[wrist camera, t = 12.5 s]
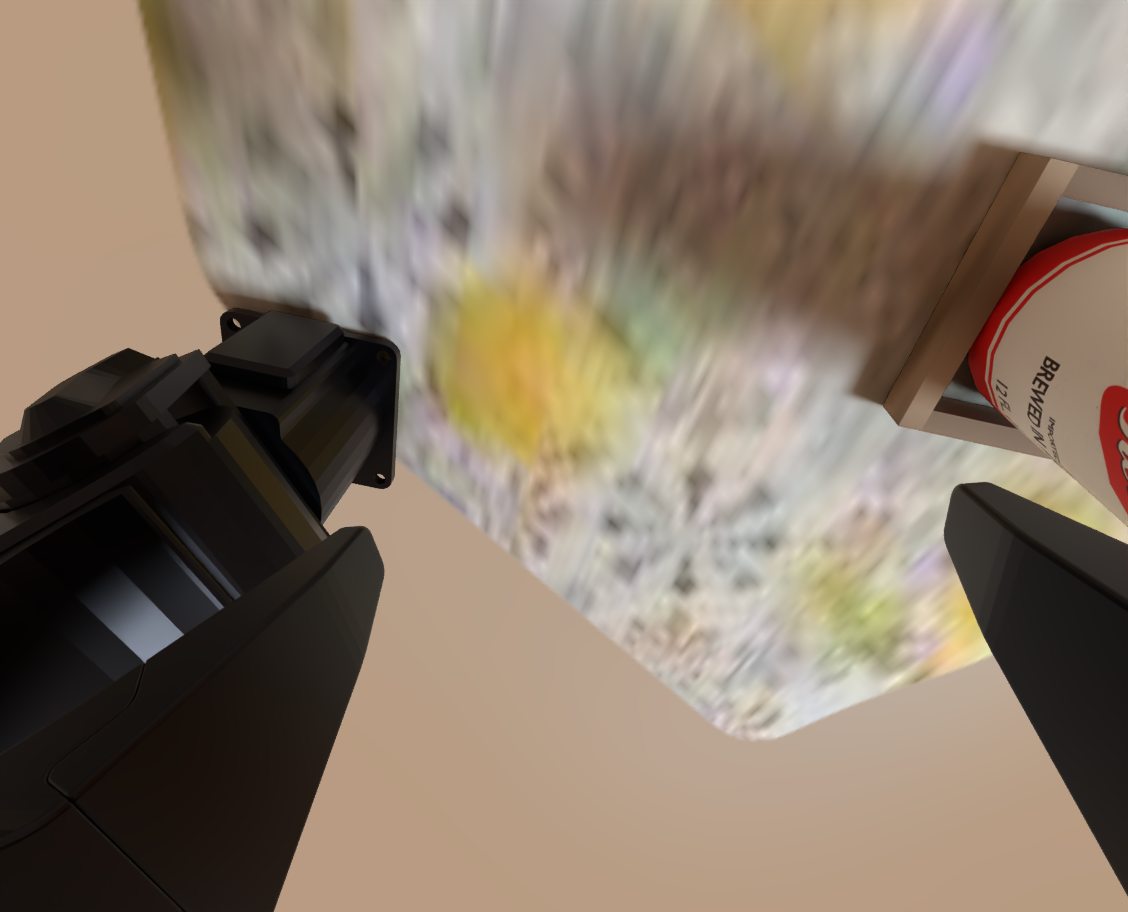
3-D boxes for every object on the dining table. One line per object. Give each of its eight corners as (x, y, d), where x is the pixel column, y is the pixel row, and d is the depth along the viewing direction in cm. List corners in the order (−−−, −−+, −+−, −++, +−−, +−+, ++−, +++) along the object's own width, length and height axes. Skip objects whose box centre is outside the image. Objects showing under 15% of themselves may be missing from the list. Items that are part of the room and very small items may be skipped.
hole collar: (1104, 454, 22) (1133, 477, 21) (882, 405, 22) (898, 426, 21) (1296, 216, 18) (1348, 227, 16) (1020, 152, 17) (1051, 158, 16)
